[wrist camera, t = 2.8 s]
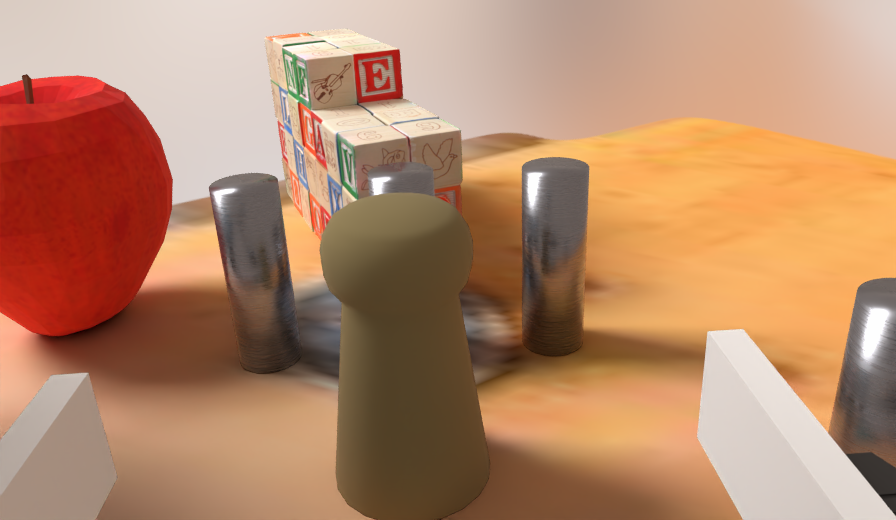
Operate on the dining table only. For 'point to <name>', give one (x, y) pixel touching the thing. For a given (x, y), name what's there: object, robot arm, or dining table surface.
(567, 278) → the spacer posts
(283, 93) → the stack of blocks
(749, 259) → the dining table surface
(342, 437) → the cork
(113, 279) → the apple
